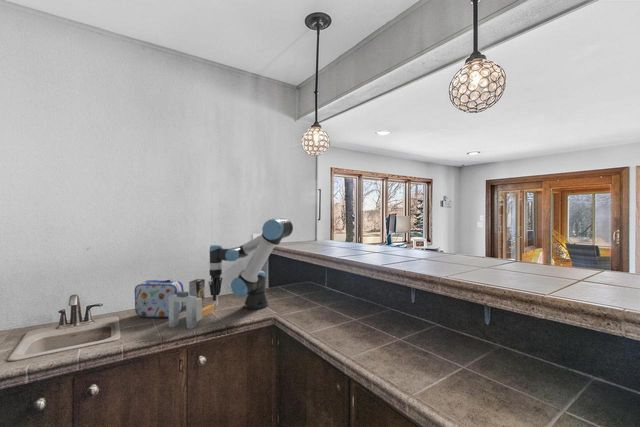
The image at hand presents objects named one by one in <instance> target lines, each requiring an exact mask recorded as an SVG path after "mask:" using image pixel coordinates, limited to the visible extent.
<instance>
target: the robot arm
mask: <svg viewBox="0 0 640 427" xmlns="http://www.w3.org/2000/svg"><path fill="white" fill-rule="evenodd" d="M261 230H262V234H260V235H258V236H256V237H255V238H252V239H250V240H249V241H247V242H245V243H244V244H242V245H239V246H236V247H232V248H223V245H222V244H211V245H210V246H209V276H210V280H209V281H207V282H208V287H209V292H210V296H212V304H214V307H217V306H219V296H220V295H221V289H222V283H223V282H222V281H223V277H221V276H222V273H223V271H222V270H223V269H222V267H223V264H222V263H223V261H225V262H226V261H227V262H236V261H237V260H238V259H239V260H240V259H243V258H246V257H248V256H249V255H250V254H252V253H253V255H251V258H250V260H249V261H248V263H247V265H246V266H245V268H244V269H241V271H240V272H239V275H238V276H237V277H234V279H233V280H231V283H230V288H231V289H230V290H231V292H232V293H233V295H235V296H236V297H238V298H239V297H240V298H241V297H245V296H246V298H245V300H244V307H245V308H246V309H249V310H258V309H264V308H266V307H268V305H269V300H268V298H267V295H266V272H265V271H264V270H263V269H262V268H263V267H264V266H265V264H266V261H267V260H268V259H269V257H270V255H271V254H272V252H273V250H274V249H275V247H276V246H279V245H280V243H281V241H282V240H283V239H284V238H287V237H289V236H291V235H292V233H293V231H294V226H293V223H292V222H291V220H290V219H287V218H271V219H268V220H266V221H265V222H264V223H263V225H262V229H261Z"/></svg>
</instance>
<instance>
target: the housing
mask: <svg viewBox="0 0 640 427" xmlns="http://www.w3.org/2000/svg"><path fill="white" fill-rule="evenodd" d="M179 302H183V303H186V302H187V321H186V329H188V330H192V329H194V328H196V327H197V322H196V296H192V295H189V291H184V292H182V291H180V292H177V294H173V295H171V296H169V317H168V327H169V328H175V327H177V326H179V323H180V322H179V319H180V316H179V315H180V314H179Z"/></svg>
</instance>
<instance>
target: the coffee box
mask: <svg viewBox="0 0 640 427" xmlns="http://www.w3.org/2000/svg"><path fill="white" fill-rule="evenodd" d="M205 281H206V279H204V278H197V279H193V280H191V281H189V282H188V286H189V287H188V295H192V296H196V298H202V305H203V304H205V303H206V300H205V298H206V297H205V295H206V294H205V293H206V292H205V290H206V282H205Z"/></svg>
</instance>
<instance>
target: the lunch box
mask: <svg viewBox="0 0 640 427" xmlns="http://www.w3.org/2000/svg"><path fill="white" fill-rule="evenodd" d="M180 291H182V292H185V290H184V285H183V283H182V282H181V281H179V280H171V279H166V280H157V279H156V280H154V279H153V280H151V279H149V280H145V281H143V282H141V283H140V284H139V283H138V284H136V286H135V287H134V310H135V314H136V315H137V316H139V317H144V318H145V317H146V318H154V319H155V318H169V296H171V295H173V294H177V292H180ZM183 305H184V302H179V313H181V312H182V310H183Z"/></svg>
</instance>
